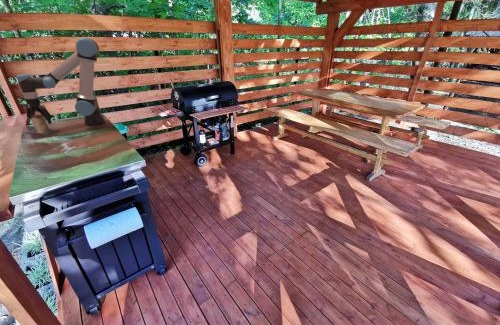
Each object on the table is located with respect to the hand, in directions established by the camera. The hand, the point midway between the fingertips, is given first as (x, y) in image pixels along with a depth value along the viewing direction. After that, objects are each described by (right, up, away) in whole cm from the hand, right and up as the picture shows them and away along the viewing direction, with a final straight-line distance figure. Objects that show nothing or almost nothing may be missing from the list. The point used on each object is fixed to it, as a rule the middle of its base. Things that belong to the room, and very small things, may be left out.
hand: (43, 127), depth 175 cm
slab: (0, -3, +1) cm, 3 cm away
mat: (-3, -3, +2) cm, 5 cm away
